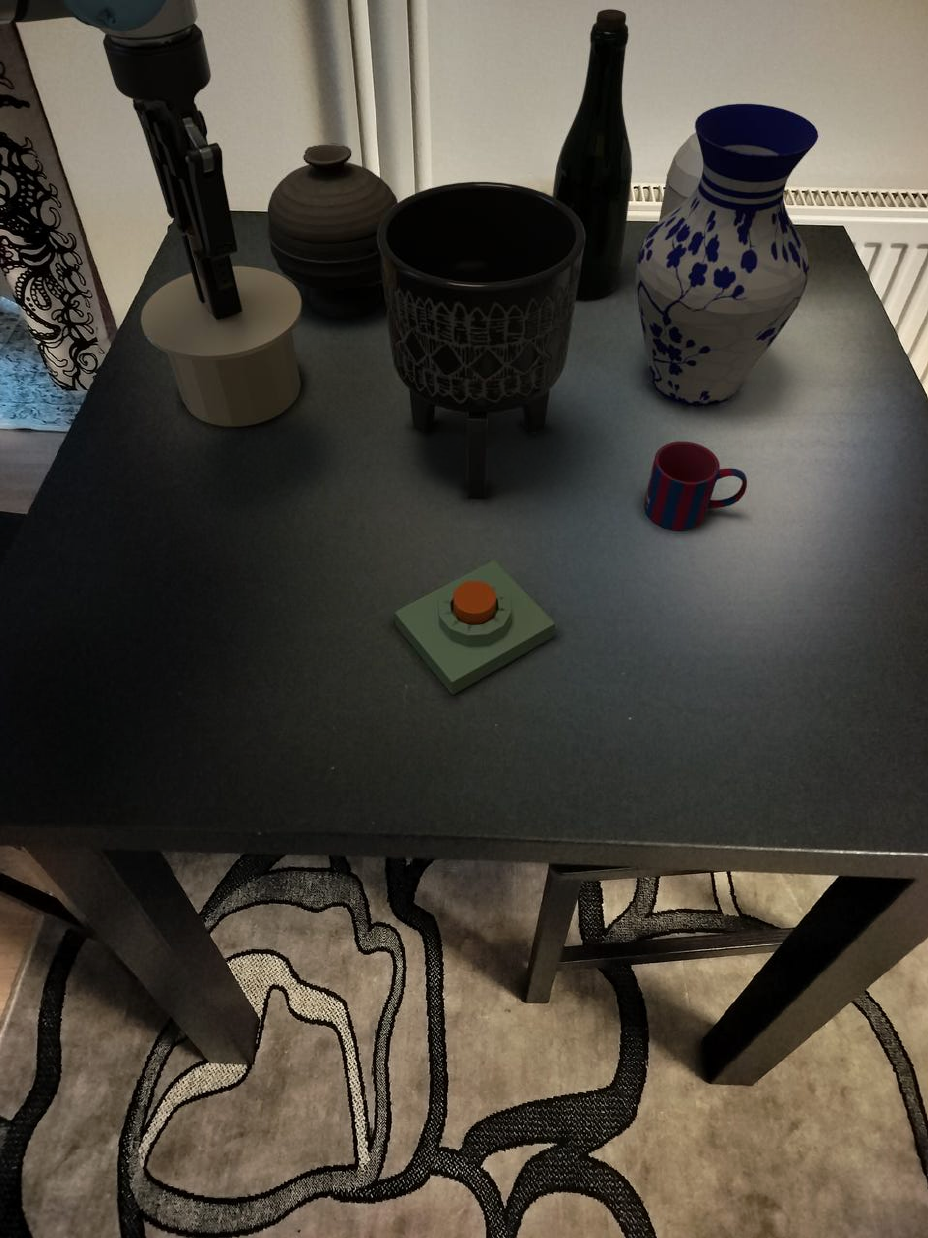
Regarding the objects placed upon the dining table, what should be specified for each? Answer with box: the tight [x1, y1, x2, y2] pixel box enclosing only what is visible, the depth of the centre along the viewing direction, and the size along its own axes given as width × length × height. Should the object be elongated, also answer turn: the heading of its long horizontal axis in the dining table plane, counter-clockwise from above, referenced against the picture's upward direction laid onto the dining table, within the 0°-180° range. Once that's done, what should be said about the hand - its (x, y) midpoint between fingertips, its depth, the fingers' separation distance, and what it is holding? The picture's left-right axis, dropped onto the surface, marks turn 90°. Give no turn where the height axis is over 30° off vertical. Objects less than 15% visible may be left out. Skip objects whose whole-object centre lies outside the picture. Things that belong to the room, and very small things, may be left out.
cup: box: [643, 441, 748, 531], centre depth 92 cm, size 7×10×7 cm
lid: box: [140, 224, 303, 361], centre depth 82 cm, size 16×16×9 cm
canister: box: [167, 331, 302, 428], centre depth 104 cm, size 15×15×10 cm
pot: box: [266, 142, 399, 318], centre depth 113 cm, size 18×18×20 cm
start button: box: [453, 581, 496, 625], centre depth 81 cm, size 4×4×2 cm
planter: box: [377, 181, 586, 500], centre depth 91 cm, size 20×20×26 cm
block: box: [394, 559, 556, 696], centre depth 83 cm, size 12×10×4 cm
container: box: [658, 132, 703, 222], centre depth 117 cm, size 14×13×20 cm
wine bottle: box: [551, 8, 633, 300], centre depth 110 cm, size 10×10×33 cm
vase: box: [635, 103, 819, 408], centre depth 97 cm, size 19×19×30 cm
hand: (220, 305), depth 84 cm, fingers closed on lid, 3 cm apart
